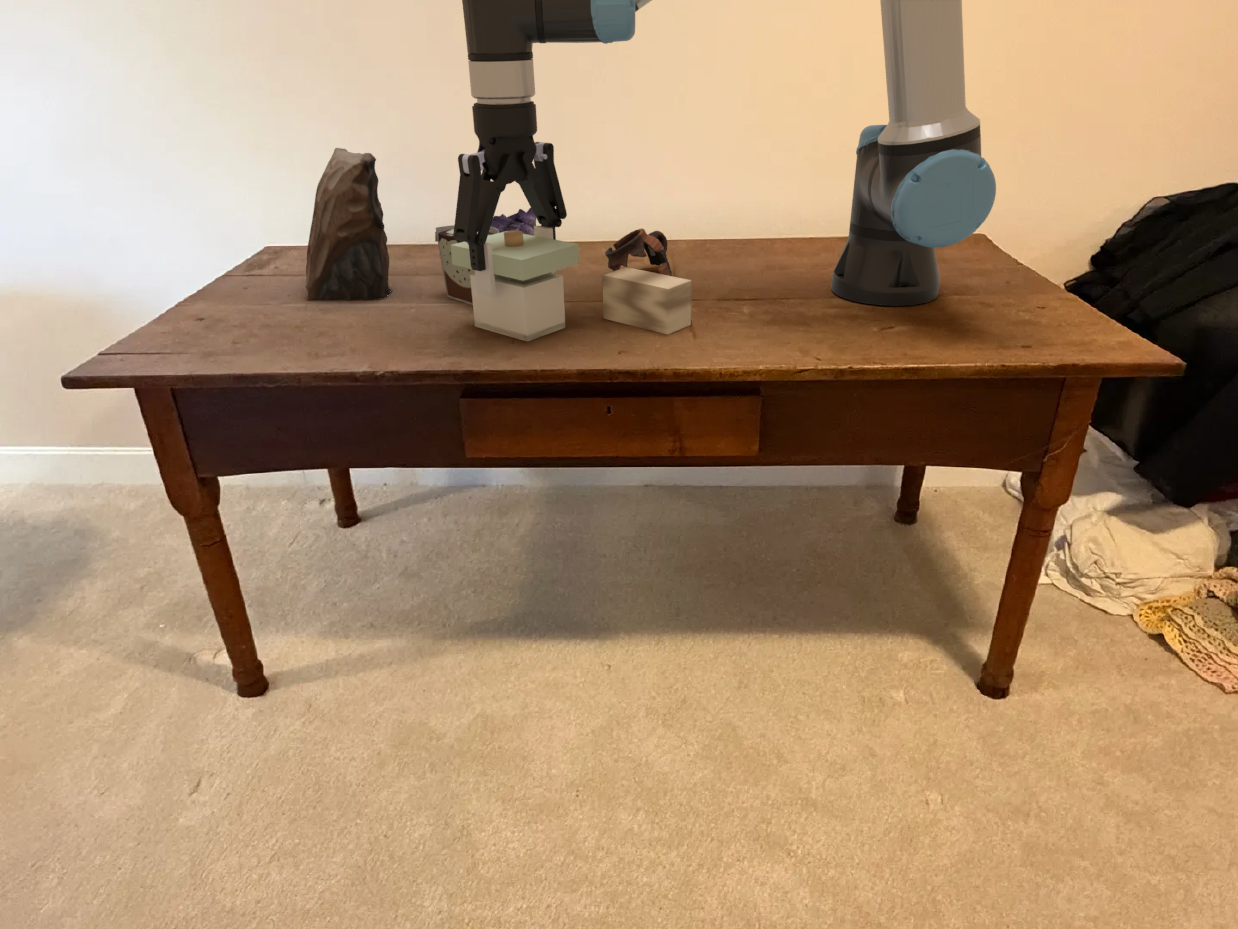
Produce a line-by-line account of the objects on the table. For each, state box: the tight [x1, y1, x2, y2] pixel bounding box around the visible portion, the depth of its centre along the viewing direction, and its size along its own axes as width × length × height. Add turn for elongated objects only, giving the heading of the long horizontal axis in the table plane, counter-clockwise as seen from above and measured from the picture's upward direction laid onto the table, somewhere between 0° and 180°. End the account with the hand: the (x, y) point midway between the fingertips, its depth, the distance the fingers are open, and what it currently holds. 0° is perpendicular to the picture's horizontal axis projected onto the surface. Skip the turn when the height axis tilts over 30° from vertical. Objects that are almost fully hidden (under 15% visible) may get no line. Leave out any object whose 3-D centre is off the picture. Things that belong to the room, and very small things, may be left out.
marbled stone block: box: [602, 266, 693, 336], centre depth 114 cm, size 11×5×6 cm, turn 50°
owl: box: [305, 147, 392, 302], centre depth 127 cm, size 13×13×20 cm
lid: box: [450, 231, 580, 281], centre depth 110 cm, size 13×10×4 cm
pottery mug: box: [604, 228, 673, 276], centre depth 136 cm, size 12×10×8 cm
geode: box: [491, 207, 537, 236], centre depth 139 cm, size 20×12×10 cm, turn 173°
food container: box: [434, 224, 499, 306], centre depth 125 cm, size 12×6×10 cm, turn 45°
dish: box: [470, 273, 566, 343], centre depth 113 cm, size 10×7×7 cm
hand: (517, 285), depth 112 cm, fingers closed on lid, 10 cm apart
